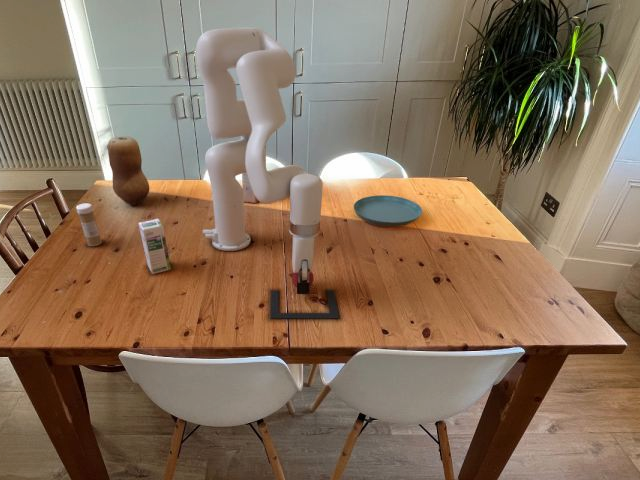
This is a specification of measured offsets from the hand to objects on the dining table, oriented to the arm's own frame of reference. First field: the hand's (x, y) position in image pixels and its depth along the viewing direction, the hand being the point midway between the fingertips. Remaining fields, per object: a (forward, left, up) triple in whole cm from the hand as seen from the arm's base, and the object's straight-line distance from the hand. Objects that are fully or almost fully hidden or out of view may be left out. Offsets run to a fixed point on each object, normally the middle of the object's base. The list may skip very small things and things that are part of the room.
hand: (302, 285), depth 111 cm
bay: (0, -6, -1) cm, 6 cm away
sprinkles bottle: (-67, +26, -2) cm, 72 cm away
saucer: (+33, +47, -2) cm, 58 cm away
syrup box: (-42, +11, -2) cm, 44 cm away
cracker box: (-16, +66, -2) cm, 68 cm away
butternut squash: (-64, +60, -2) cm, 88 cm away
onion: (0, 0, -2) cm, 1 cm away
